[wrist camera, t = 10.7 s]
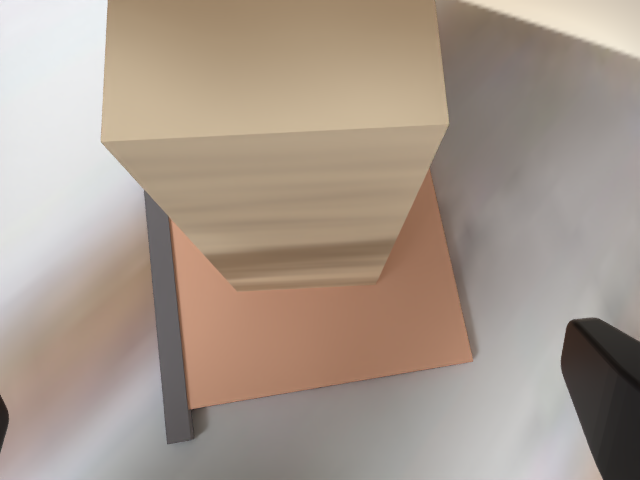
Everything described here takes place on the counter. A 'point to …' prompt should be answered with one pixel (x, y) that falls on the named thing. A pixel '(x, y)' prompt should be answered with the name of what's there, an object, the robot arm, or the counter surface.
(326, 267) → the beech block
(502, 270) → the counter surface
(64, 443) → the counter surface
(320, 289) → the mat
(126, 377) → the counter surface
